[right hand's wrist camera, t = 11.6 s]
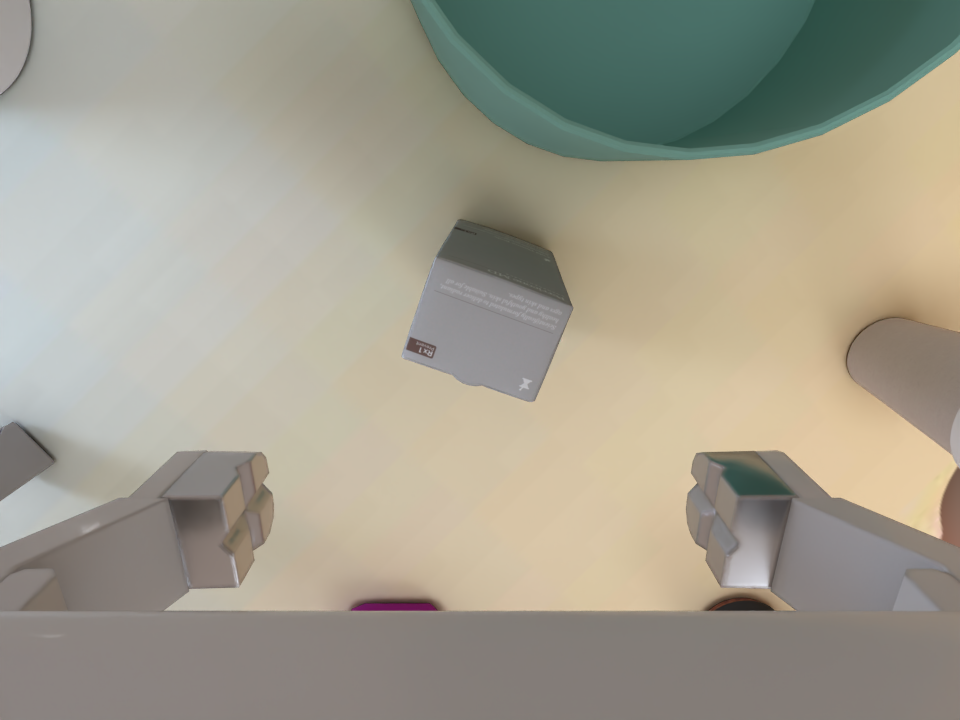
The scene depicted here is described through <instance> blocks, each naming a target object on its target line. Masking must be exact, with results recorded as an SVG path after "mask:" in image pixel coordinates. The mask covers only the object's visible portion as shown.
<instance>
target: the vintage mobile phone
mask: <svg viewBox="0 0 960 720" xmlns="http://www.w3.org/2000/svg"><path fill="white" fill-rule="evenodd" d="M52 464H54V461H53V459H52V458H51V457H50V456H49V455H48V454H47V453H46V452H45V451H44V450H43V449H42V448H41V447H40V446H39V445H38V444H37V443H36V442H35V441H34V440H33V439H32V438H31V437H30V436H29V435H28V434H27V433H26V432H25V431H24V430H23V429H22V428H21V427H20V426H19V425H18V424H16V423H14V422H12V423H10V424H8V425H6V426H4V427H3V428H1V429H0V501H1V500H3V499H4V498H5V497H7V496H8V495H10V494H11V493H13V492H14V491H15V490H17V489H18V488H20V487H21V486H22V485H24V484H25V483H27V482H28V481H30V480H31V479H32V478H34V477H35V476H37V475H38V474H39V473H41V472H42V471H44V470H45V469H47V468H48V467H49V466H51V465H52Z"/></svg>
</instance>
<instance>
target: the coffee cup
mask: <svg viewBox="0 0 960 720" xmlns="http://www.w3.org/2000/svg"><path fill="white" fill-rule="evenodd" d="M847 367H848V371H849V373H850V375H851V377H852V378H853V380H854V381H855V382H857V383H858V384H859V385H860V386H862V387H863V388H864V389H866V390H867V391H868V392H870V393H871V394H872V395H874V396H875V397H876V398H878V399H879V400H880V401H882V402H883V403H884V404H886V405H887V406H888V407H890V408H891V409H892V410H894V411H895V412H896V413H898V414H899V415H900V416H902V417H903V418H904V419H906V420H907V421H908V422H909V423H911V424H912V425H913V426H915V427H916V428H917V429H919V430H920V431H921V432H923V433H924V434H925V435H927V436H928V437H929V438H931V439H932V440H933V441H935V442H936V443H937V444H938V445H940V446H941V447H942V448H944V449H945V450H946V451H948V452H949V453H950V454H951V455H953V458H954V460H955V462H956V464H957V466H958V467H959V468H960V333H959V332H955V331H951V330H947V329H943V328H939V327H935V326H931V325H927V324H923V323H919V322H915V321H911V320H907V319H903V318H889V319H884V320H881V321H878V322H876V323H874V324H872V325H870V326H869V327H867V328H866V329H865V330H863V331H862V332H861V333H860V334H859V335H858V336H857V338H856V339H855V340H854V342H853V344H852V345H851V347H850V350H849V353H848V357H847Z"/></svg>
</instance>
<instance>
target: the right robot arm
mask: <svg viewBox="0 0 960 720" xmlns="http://www.w3.org/2000/svg"><path fill="white" fill-rule="evenodd" d="M31 29H32V20H31V8H30V2H29V0H0V94H2V93H3V92H4V91H5V90H6V89H8V87H9V86H10V85H11V84H12V83H13V82H14V81H15V79H16V78H17V76H18V75H19V73H20V71H21V70H22V68H23V65H24V63H25V61H26V58H27V55H28V51H29V47H30V40H31ZM268 474H269V470H268V465H267V459H266V457H265V456H264V454H263V453H262V452H234V451H206V450H205V451H181V452H177V453H175V454H174V455H173V456H172V457H171V458H170V459H169V460H168V461H167V462H166V463H165V464H164V465H163V466H162V467H161V468H159V469H158V470H157V471H156V472H155V473H154V474H153V475H152V476H151V477H150V478H149V479H148V480H147V481H146V482H145V483H144V484H142V485H141V486H140V487H139V488H138V489H137V490H136V491H135V492H134V493H133V494H132V495H131V496H130V497H129V498H118V499H116V500H113V501H111V502H108V503H106V504H104V505H101V506H99V507H96V508H94V509H91V510H89V511H87V512H84V513H82V514H79V515H77V516H75V517H72V518H70V519H67V520H65V521H63V522H60V523H58V524H55V525H53V526H51V527H48V528H46V529H43V530H41V531H39V532H36V533H34V534H31V535H29V536H27V537H24V538H22V539H19V540H17V541H15V542H12V543H10V544H7V545H5V546H2V547H0V720H960V547H957V546H955V545H952V544H950V543H947V542H945V541H943V540H940V539H938V538H936V537H933V536H931V535H928V534H926V533H924V532H921V531H919V530H916V529H914V528H912V527H909V526H907V525H904V524H902V523H900V522H897V521H895V520H892V519H890V518H888V517H885V516H883V515H880V514H878V513H876V512H873V511H871V510H868V509H866V508H864V507H861V506H859V505H856V504H854V503H852V502H849V501H847V500H844V499H842V498H831V497H830V496H829V495H828V494H827V493H826V492H825V491H824V490H823V489H822V488H821V487H820V486H819V485H818V484H817V483H816V482H814V481H813V480H812V479H811V478H810V477H809V476H808V475H807V474H806V473H805V472H804V471H803V470H802V469H801V468H800V467H799V466H797V465H796V464H795V463H794V462H793V461H792V460H791V459H790V458H789V457H788V456H787V455H786V454H785V453H783V452H780V451H777V450H773V451H735V452H701V453H696V455H695V458H694V460H693V464H692V469H691V474H692V475H693V477H694V478H695V480H696V481H697V484H696V485H695V486H694V487H693V488H692V489H691V491H690V492H689V493H688V495H687V504H686V515H687V524H688V527H689V530H690V533H691V536H692V537H693V539H694V541H695V543H696V544H697V545H699V546H701V547H702V548H704V549H705V550H707V554H706V560H705V561H706V562H707V564H708V566H709V567H710V569H711V571H712V573H713V574H714V576H715V578H716V580H717V581H718V583H719V585H720V586H721V587H723V588H760V589H771V592H773V593H774V594H775V595H777V596H778V597H779V598H781V599H782V600H783V601H785V602H786V603H787V604H789V605H790V606H791V607H792V608H794V609H795V610H796V611H164V610H165V609H166V608H168V607H169V606H170V605H172V604H173V603H174V602H176V601H177V600H178V599H180V598H181V597H182V596H184V595H185V594H186V593H188V592H189V589H200V588H235V587H240V585H241V583H242V581H243V580H244V578H245V576H246V574H247V573H248V571H249V569H250V568H251V566H252V564H253V562H254V561H255V560H254V554H253V550H255V549H256V548H258V547H259V546H261V545H263V544H264V543H265V541H266V539H267V537H268V535H269V534H270V531H271V526H272V522H273V518H274V502H273V495H272V493H271V492H270V491H269V489H268V488H267V487H266V486H265V485H264V484H263V482H264V480H265V478H266V477H267V475H268Z"/></svg>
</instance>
